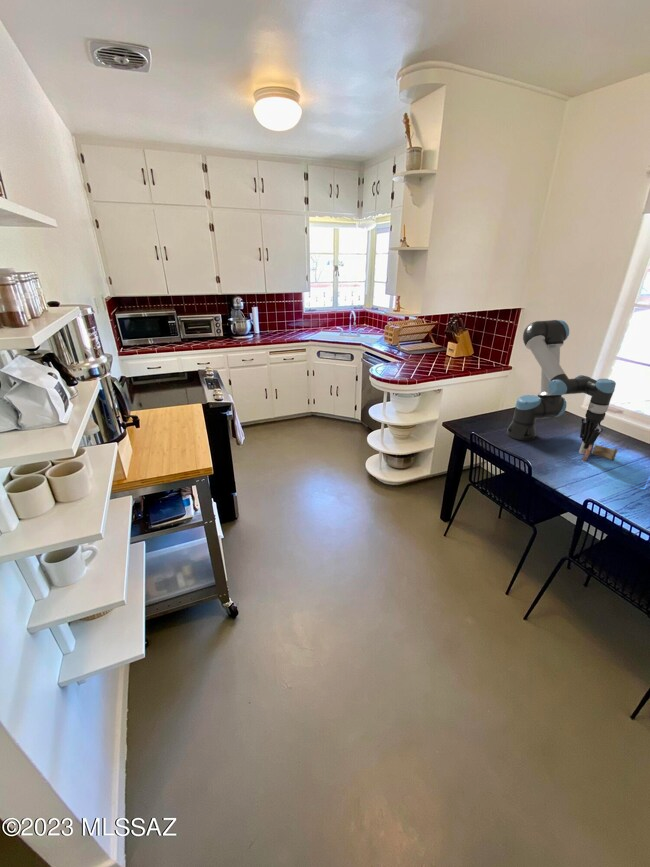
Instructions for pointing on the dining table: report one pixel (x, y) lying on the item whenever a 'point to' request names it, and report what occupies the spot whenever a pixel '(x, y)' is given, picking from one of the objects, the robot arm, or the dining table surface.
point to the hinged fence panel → (587, 452)
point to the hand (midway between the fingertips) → (582, 452)
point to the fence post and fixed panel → (604, 451)
